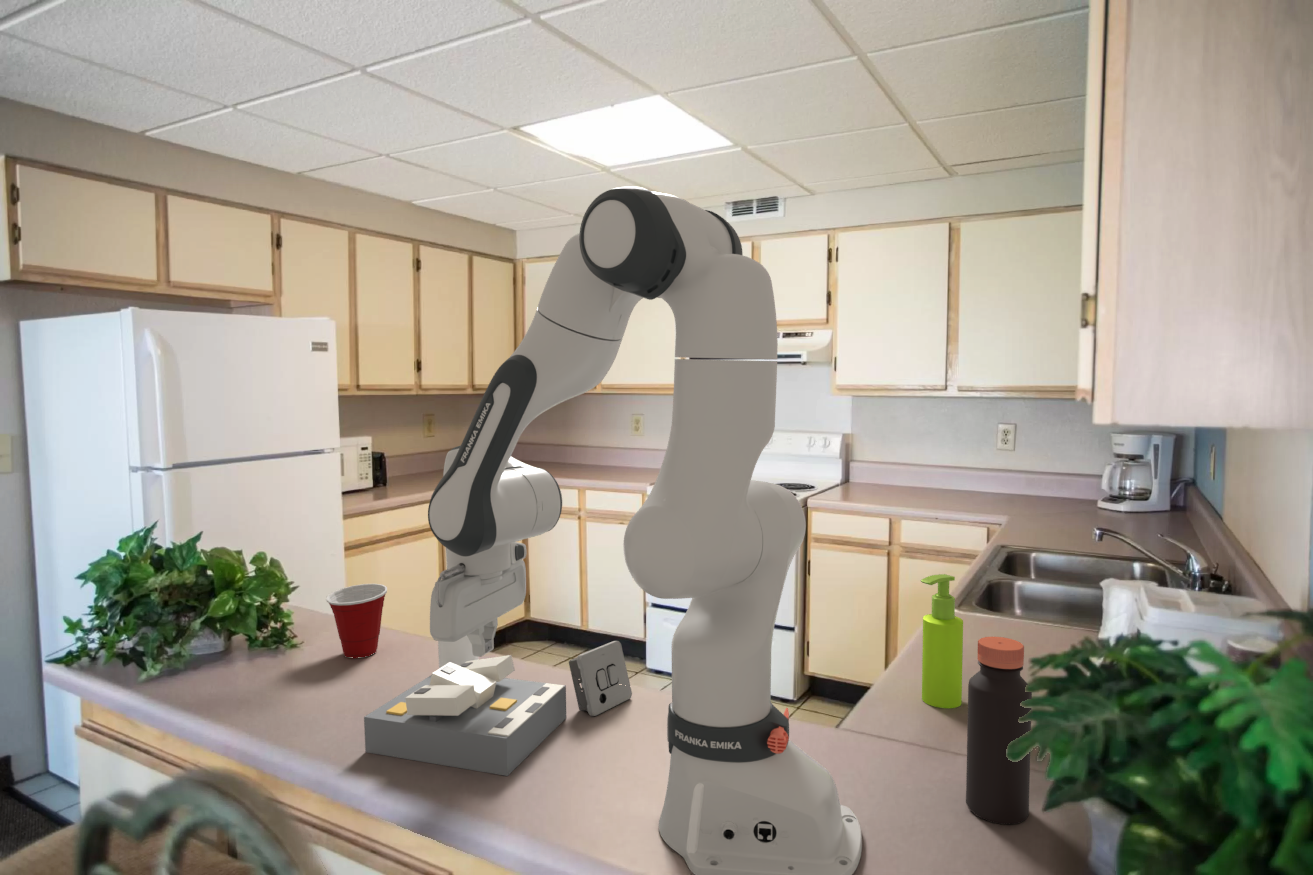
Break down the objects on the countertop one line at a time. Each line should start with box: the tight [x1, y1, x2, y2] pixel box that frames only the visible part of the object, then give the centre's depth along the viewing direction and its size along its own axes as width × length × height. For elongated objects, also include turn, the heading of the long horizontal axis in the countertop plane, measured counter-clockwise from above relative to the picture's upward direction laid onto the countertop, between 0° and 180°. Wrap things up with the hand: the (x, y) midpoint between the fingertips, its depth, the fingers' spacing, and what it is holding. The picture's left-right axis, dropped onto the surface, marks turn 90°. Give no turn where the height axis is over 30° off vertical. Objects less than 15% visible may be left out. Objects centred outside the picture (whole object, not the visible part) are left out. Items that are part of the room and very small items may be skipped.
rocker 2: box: [430, 662, 496, 709], centre depth 112 cm, size 8×4×3 cm, turn 72°
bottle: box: [965, 636, 1033, 825], centre depth 90 cm, size 7×7×20 cm
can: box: [437, 635, 479, 669], centre depth 130 cm, size 6×6×12 cm
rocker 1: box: [405, 685, 476, 716], centre depth 106 cm, size 8×4×3 cm, turn 72°
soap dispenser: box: [920, 573, 964, 709], centre depth 121 cm, size 6×7×20 cm
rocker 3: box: [460, 654, 516, 682], centre depth 117 cm, size 8×4×2 cm, turn 72°
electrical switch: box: [568, 640, 633, 717], centre depth 122 cm, size 9×5×9 cm, turn 141°
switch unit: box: [363, 674, 567, 777], centre depth 112 cm, size 22×18×6 cm
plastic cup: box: [325, 583, 388, 659], centre depth 145 cm, size 11×11×12 cm
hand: (483, 653), depth 110 cm, fingers closed
